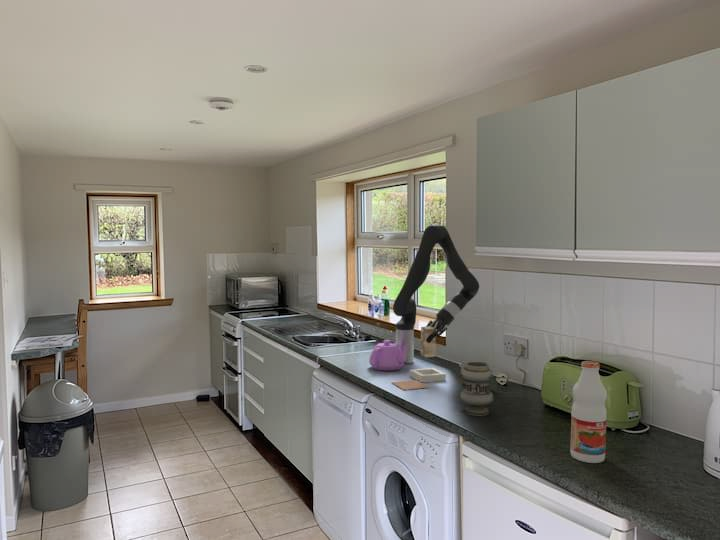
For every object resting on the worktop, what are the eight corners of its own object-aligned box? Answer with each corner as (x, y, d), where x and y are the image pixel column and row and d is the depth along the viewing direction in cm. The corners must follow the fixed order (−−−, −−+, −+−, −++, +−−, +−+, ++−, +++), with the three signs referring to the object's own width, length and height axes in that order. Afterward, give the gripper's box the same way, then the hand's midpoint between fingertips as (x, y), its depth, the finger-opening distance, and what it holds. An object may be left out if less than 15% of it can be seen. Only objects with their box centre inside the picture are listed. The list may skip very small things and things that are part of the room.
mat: (392, 383, 238) (392, 382, 238) (416, 381, 242) (416, 380, 242) (403, 390, 226) (403, 389, 226) (429, 388, 231) (429, 386, 231)
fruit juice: (591, 450, 163) (595, 358, 162) (612, 462, 154) (615, 365, 153) (563, 452, 162) (566, 359, 160) (582, 465, 152) (585, 366, 151)
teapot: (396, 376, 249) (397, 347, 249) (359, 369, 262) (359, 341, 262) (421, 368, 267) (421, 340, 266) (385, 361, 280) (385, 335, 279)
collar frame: (410, 376, 251) (410, 369, 250) (433, 374, 255) (433, 367, 255) (421, 382, 239) (421, 375, 239) (445, 380, 243) (445, 373, 243)
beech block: (420, 355, 248) (421, 326, 247) (430, 354, 250) (430, 326, 249) (425, 357, 243) (426, 328, 243) (435, 356, 245) (435, 328, 244)
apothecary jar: (453, 408, 203) (454, 361, 202) (481, 405, 207) (482, 358, 206) (471, 418, 192) (472, 368, 191) (499, 414, 196) (501, 365, 195)
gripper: (436, 305, 255) (412, 332, 251) (451, 309, 241) (426, 337, 238) (445, 316, 257) (422, 343, 253) (461, 321, 243) (437, 349, 240)
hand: (424, 340), depth 245 cm, fingers closed on beech block, 5 cm apart
